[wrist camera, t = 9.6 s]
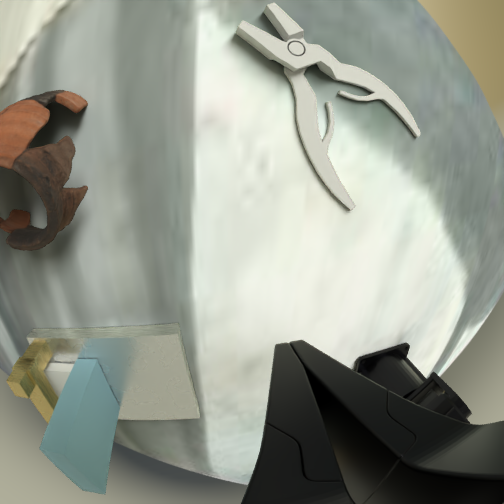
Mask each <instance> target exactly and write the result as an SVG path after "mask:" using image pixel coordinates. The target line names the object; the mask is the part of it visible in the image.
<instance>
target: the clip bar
mask: <svg viewBox="0 0 504 504" xmlns="http://www.w3.org/2000/svg"><path fill="white" fill-rule="evenodd" d="M43 372H44V374H45V376H46V377H47V379H48V381H49V383H50V384H51V386H52V388H53V390H54V391H55V393H56V395H57V396H58V398H59V399H58V401H57V404H56V406H55V409H54V411H53V414H52V416H51V419H50V421H49V424H48V426H47V429H46V432H45V434H44V437H43V440H42V443H41V446H40V450H41V451H42V452H43V453H44V454H45V455H46V456H47V458H48V459H49V460H50V461H51V462H53V464H55V466H56V467H57V468H59V469H60V470H61V471H62V472H63V473H64V474H65V475H66V476H67V477H68V478H69V479H70V480H71V481H72V482H74V483H75V484H76V485H77V486H78V487H79V488H81V489H82V490H84V491H89V492H95V493H99V494H105V493H106V485H107V478H108V470H109V463H110V458H111V451H112V446H113V441H114V436H115V430H116V425H117V421H118V416H119V411H120V406H119V404H118V402H117V401H116V399H115V397H114V395H113V393H112V391H111V389H110V387H109V384H108V382H107V380H106V378H105V376H104V374H103V372H102V369H101V367H100V365H99V363H98V360H97V359H77V360H76V362H75V364H68V363H50V362H48V364H47V366H46V367H45V369H44V371H43Z"/></svg>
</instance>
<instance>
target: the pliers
mask: <svg viewBox="0 0 504 504" xmlns="http://www.w3.org/2000/svg"><path fill="white" fill-rule="evenodd" d="M264 14H265V15H266V16H267V18H268V19H269V20H270V22H271V23H272V24H273V26H274V27H275V29H276V30H277V31H278V33H279V34H280V36H281V37H282V39H283V40H284V41H281V40H279V39H277V38H276V37H274V36H272V35H270V34H268V33H267V32H265V31H263V30H261V29H259V28H257V27H255V26H253V25H251V24H249V23H247V22H245V21H242V22H241V23H240V24H239V25H238V27H237V31H236V34H237V35H238V36H240V37H241V38H242V39H244V40H245V41H246V42H248V43H249V44H250V45H252V46H253V47H254V48H255V49H257V50H258V51H259V52H260V53H262V54H263V55H264V56H265V57H267V58H268V59H269V60H275V61H277V62H279V63H280V64H282V65H284V73H285V75H286V77H287V78H288V80H289V81H290V83H291V85H292V89H293V93H294V96H295V105H296V122H297V126H298V131H299V135H300V137H301V140H302V143H303V146H304V148H305V150H306V153H307V155H308V157H309V159H310V161H311V163H312V165H313V167H314V168H315V170H316V172H317V174H318V175H319V177H320V178H321V179H322V181H323V182H324V184H325V185H326V186H327V188H328V189H329V190H330V191H331V193H332V194H333V195H334V196H335V197H336V198H337V199H338V200H339V201H340V202H342V203H343V204H344V205H345V206H346V207H347V208H348V209H350V210H353V208H354V207H355V206H356V205H355V204H354V202H353V201H352V199H351V198H350V196H349V194H348V193H347V191H346V189H345V188H344V186H343V184H342V183H341V181H340V179H339V177H338V176H337V174H336V172H335V170H334V168H333V166H332V163H331V161H330V159H329V157H328V155H327V154H328V146H329V144H330V141H331V138H332V136H333V130H334V114H333V109H332V104H331V101H329V102H326V107H327V112H328V128H327V133H326V135H325V136H324V138H323V139H321V136H320V133H319V127H318V118H317V102H316V95H315V94H314V92H313V90H312V88H311V87H310V85H309V83H308V81H307V80H306V78H305V76H304V75H303V74H304V72H305V70H306V69H307V67H308V66H311V65H314V64H317V65H318V67H319V69H320V70H321V71H323V72H324V73H325V74H327V75H328V76H330V77H331V78H332V79H334V80H337V81H341V82H345V83H349V84H353V85H356V86H359V87H362V88H365V89H366V90H368V91H370V92H371V93H372V94H370V95H368V96H356V95H352V94H349V93H346V92H344V91H341V90H340V91H338V94H339V95H341V96H344V97H346V98H349V99H352V100H356V101H369V100H374V99H379V100H382V101H383V102H384V103H386V104H387V105H388V106H389V107H390V108H391V109H392V110H393V111H394V112H395V113H396V114H397V115H398V116H399V117H400V118H401V119H402V121H403V122H404V123H405V124H406V125H407V127H408V128H409V129H410V130H411V132H412V133H413V135H414V136H415V137H419V135H420V134H421V133H420V131H419V129H418V126H417V124H416V122H415V121H414V119H413V117H412V115H411V113H410V112H409V110H408V109H407V108H406V106H405V105H404V103H403V102H402V101H401V100H400V99H399V97H398V96H397V95H396V94H395V93H394V92H393V91H392V90H391V89H390V88H389V87H388V86H386V85H385V84H384V83H383V82H381V81H380V80H379V79H378V78H376V77H375V76H373V75H371V74H370V73H368V72H366V71H364V70H362V69H360V68H358V67H355V66H351V65H347V64H342V63H340V62H339V61H338V60H337V59H336V58H335V57H334V56H333V55H331V54H330V53H329V52H328V51H326V50H325V49H323V48H322V47H321V46H319V45H315V44H307V43H306V41H305V40H304V38H303V34H304V30H303V29H302V28H301V27H300V26H299V25H298V24H297V23H296V22H295V21H294V20H293V19H291V18H290V17H289V16H288V15H287V14H286V13H285V12H284V11H283V10H282V9H281V8H280V7H279V6H277V5H276V4H275V3H272V4H269V5H267V6H266V8H265V10H264Z"/></svg>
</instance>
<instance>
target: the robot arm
mask: <svg viewBox="0 0 504 504" xmlns="http://www.w3.org/2000/svg"><path fill="white" fill-rule="evenodd" d="M409 348H410V345H409V344H408V343H404V344H401V345H397V346H394V347H391V348H388V349H385V350H382V351H378V352H375V353H372V354H368V355H365V356H362V357H360V358H359V359H358V361H357V365H356V370H355V371H354V370H352V369H350V368H348V367H347V366H345V365H343V364H342V363H340V362H338V361H337V360H335V359H333V358H332V357H330V356H328V355H327V354H325V353H323V352H322V351H320V350H318V349H317V348H315V347H313V346H312V345H310V344H308V343H307V342H305V341H303V340H298V341H292V342H290V343H280V344H276V345H275V349H274V357H273V366H272V374H271V382H270V389H269V397H268V404H267V411H266V419H265V425H264V431H263V438H262V443H261V448H260V452H259V455H258V459H257V462H256V465H255V468H254V471H253V474H252V476H251V479H250V482H249V484H248V487H247V490H246V492H245V495H244V497H243V500H242V502H241V504H504V421H499V422H495V423H490V424H484V425H473V424H470V422H469V421H468V420H467V418H468V417H469V416H470V415H471V414H472V413H471V411H470V410H469V408H468V407H467V405H466V404H465V403H464V402H463V401H462V399H461V398H460V397H459V396H458V395H457V394H456V393H455V392H454V391H453V390H452V389H451V388H450V387H449V386H448V385H447V384H446V383H445V382H444V381H443V380H442V379H441V378H440V377H439V376H438V375H437V374H436V373H435V372H433V373H432V374H431V375H430V377H429V378H428V379H426V378H425V377H424V376H423V374H422V373H421V372H420V371H419V370H418V369H417V368H416V367H415V366H414V365H413V363H412V362H411V361H410V360H409V359H408V358H407V354H408V351H409Z"/></svg>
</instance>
